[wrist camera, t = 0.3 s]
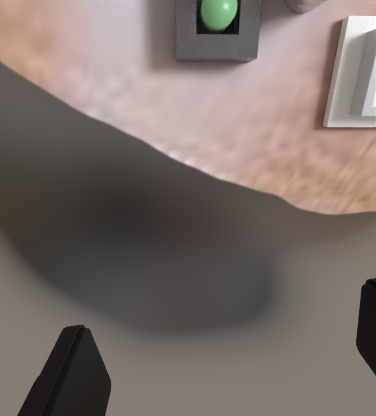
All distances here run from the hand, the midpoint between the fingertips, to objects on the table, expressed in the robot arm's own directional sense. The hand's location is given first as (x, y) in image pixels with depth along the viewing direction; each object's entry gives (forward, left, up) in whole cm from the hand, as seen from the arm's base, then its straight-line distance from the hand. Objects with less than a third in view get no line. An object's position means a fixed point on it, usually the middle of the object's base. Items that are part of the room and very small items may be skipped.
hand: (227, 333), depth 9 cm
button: (-16, +3, -29) cm, 34 cm away
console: (-16, +3, -30) cm, 34 cm away
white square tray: (-10, +25, -30) cm, 40 cm away
